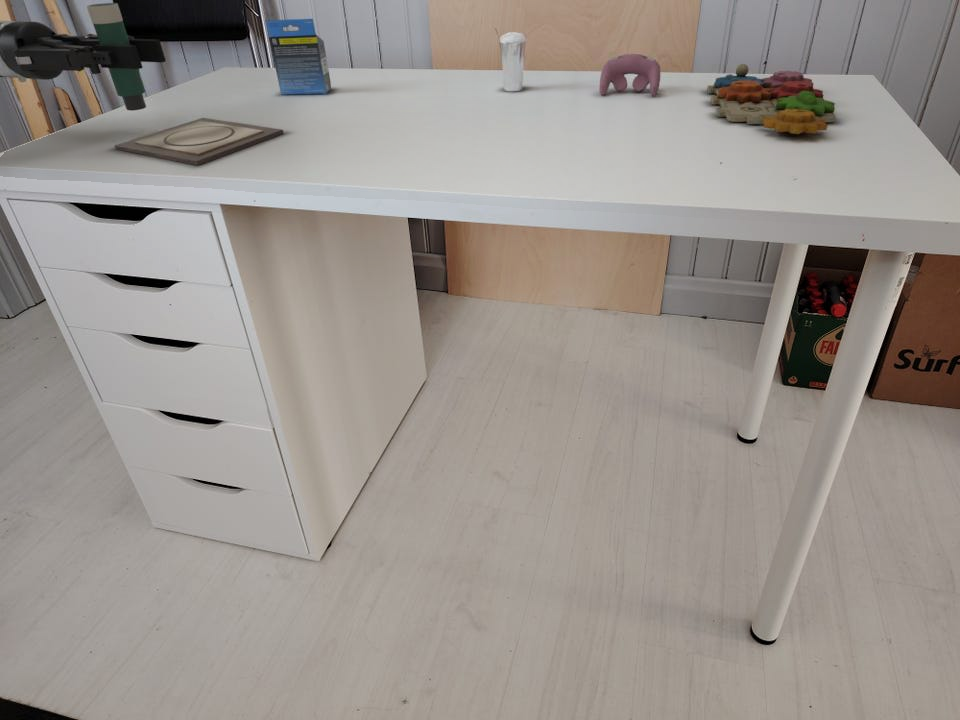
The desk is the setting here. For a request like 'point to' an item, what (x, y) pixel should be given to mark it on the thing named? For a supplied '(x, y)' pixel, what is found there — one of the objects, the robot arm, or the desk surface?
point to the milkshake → (512, 59)
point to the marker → (114, 33)
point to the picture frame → (199, 140)
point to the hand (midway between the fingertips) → (148, 54)
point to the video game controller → (630, 65)
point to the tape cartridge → (299, 57)
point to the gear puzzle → (772, 101)
